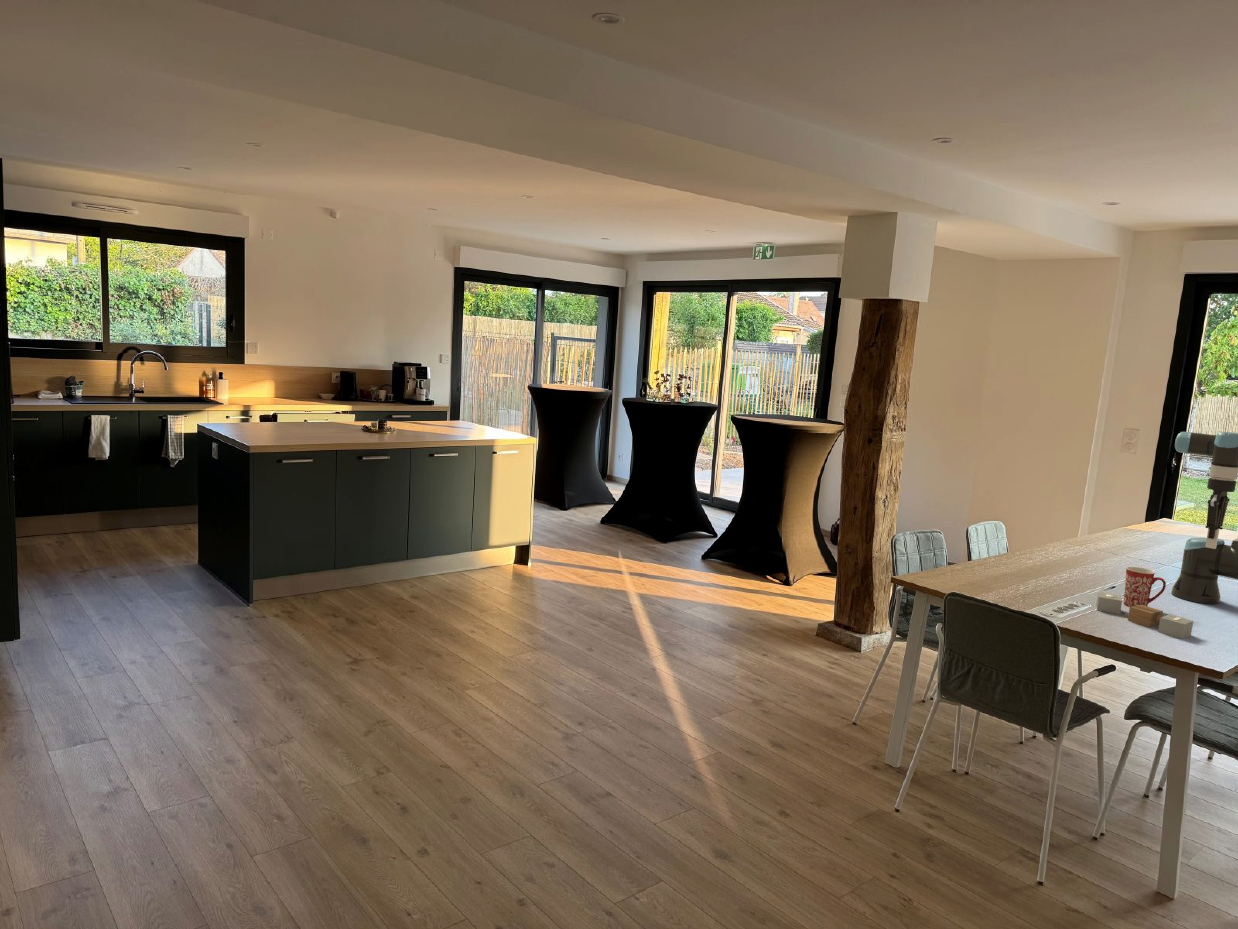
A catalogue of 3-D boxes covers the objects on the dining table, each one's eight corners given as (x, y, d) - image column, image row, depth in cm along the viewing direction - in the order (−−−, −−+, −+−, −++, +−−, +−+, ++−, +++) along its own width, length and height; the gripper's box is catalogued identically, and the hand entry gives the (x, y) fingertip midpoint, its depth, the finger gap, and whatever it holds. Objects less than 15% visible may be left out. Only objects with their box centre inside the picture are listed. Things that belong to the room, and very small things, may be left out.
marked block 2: (1166, 629, 274) (1169, 613, 273) (1190, 635, 268) (1193, 620, 267) (1157, 632, 269) (1160, 617, 269) (1182, 639, 264) (1184, 623, 263)
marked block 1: (1096, 605, 296) (1098, 591, 295) (1118, 609, 292) (1120, 595, 292) (1096, 610, 289) (1098, 596, 289) (1119, 614, 286) (1122, 600, 285)
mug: (1119, 606, 296) (1125, 569, 294) (1121, 600, 303) (1126, 564, 301) (1161, 614, 289) (1167, 577, 287) (1161, 608, 296) (1168, 572, 294)
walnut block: (1139, 618, 283) (1141, 604, 282) (1160, 625, 277) (1163, 611, 276) (1127, 621, 280) (1129, 606, 279) (1148, 627, 274) (1151, 613, 273)
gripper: (1216, 475, 281) (1204, 543, 285) (1202, 477, 273) (1190, 547, 277) (1242, 479, 275) (1230, 548, 279) (1229, 481, 267) (1217, 552, 271)
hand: (1210, 547), depth 278 cm, fingers closed
